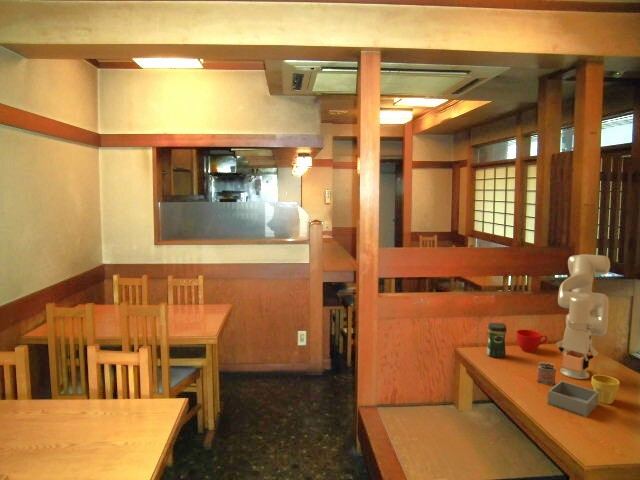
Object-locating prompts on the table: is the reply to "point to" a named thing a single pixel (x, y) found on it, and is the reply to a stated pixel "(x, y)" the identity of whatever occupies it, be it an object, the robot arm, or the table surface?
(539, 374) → the lighter
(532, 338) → the ceramic cup
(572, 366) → the terracotta crate
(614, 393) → the plant pot
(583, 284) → the robot arm
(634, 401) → the table surface
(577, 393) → the grey crate
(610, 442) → the table surface
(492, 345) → the coffee jar
